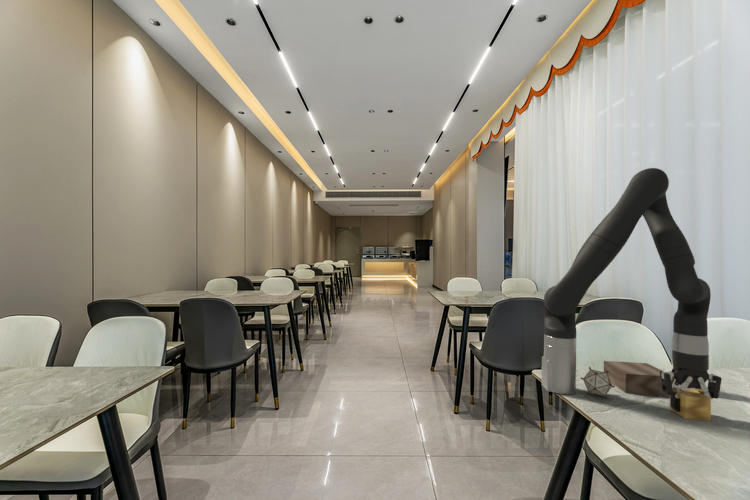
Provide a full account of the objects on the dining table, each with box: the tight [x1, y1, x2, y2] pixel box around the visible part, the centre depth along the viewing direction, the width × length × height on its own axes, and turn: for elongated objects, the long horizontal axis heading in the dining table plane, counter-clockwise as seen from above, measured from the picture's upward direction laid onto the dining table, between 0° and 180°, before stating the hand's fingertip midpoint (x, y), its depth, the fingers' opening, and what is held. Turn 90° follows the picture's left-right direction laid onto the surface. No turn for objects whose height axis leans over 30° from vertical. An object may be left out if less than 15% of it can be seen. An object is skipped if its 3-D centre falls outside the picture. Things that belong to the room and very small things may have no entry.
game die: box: [580, 366, 616, 400], centre depth 109 cm, size 9×8×10 cm
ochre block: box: [669, 389, 712, 421], centre depth 97 cm, size 6×6×6 cm
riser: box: [603, 360, 675, 397], centre depth 118 cm, size 14×14×6 cm
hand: (689, 411), depth 97 cm, fingers closed on ochre block, 6 cm apart
